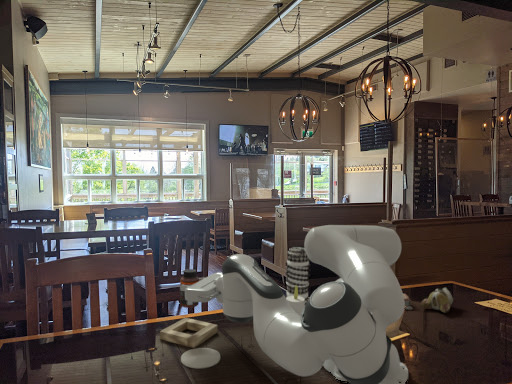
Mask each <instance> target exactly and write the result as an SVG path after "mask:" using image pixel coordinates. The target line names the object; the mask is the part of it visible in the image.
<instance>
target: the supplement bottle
mask: <svg viewBox="0 0 512 384" xmlns="http://www.w3.org/2000/svg"><path fill="white" fill-rule="evenodd" d="M199 278H200V277H198V275H197V269H194V268H186V269H184V270H183V276H181V278H180V281H179V283H180V285H182V284H187V285H188V286H190V285H193V284H195V283H197V282H199ZM180 285H179V286H180ZM199 304H200V302H192V301H187V300H186V299H185V291H181V290H180V289H179V305H180V307H182V308H186V309H189V308H195V307H197V306H198V305H199Z"/></svg>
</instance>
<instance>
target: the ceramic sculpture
mask: <svg viewBox="0 0 512 384" xmlns="http://www.w3.org/2000/svg"><path fill="white" fill-rule="evenodd" d="M453 302H454V298H453V295H452V294H451V291H449V289H448V288H447V287H443V288H440V287H438V288H436V289H435V290H434V291H432V292H431V293H429V296H428V297H427V298H424V299H422V300H421V302H420V303H419V307H421V308H423V309H428V308H430V307H431V308H432V310H435V311H440V312H443V313H448V312H449V311H450V310H451V306H452V304H453Z"/></svg>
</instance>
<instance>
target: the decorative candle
mask: <svg viewBox="0 0 512 384" xmlns="http://www.w3.org/2000/svg"><path fill="white" fill-rule="evenodd" d="M287 258H288V259H287V260H286V261H287V262H284V263H285V266H286V268H285V276H286V277H285V283H286V285H287V290H286V295H285V298H286V297H288V296H294V292H295V286H296V285H297V288H298V296H300V297H303V298H304V299H305V305H306V303H307V301H308V299H309V297H310V296H309V285H310V283H309V281H310V280H311V279H310V278H309V277H310V276H311V274H310V273H309V272H310V271H311V269H310V267H311V264H310V260H309V258H308V256H307V254H306V252H305V247H301V246H296V247H295V246H293V247H291V248H289V249H288V251H287ZM305 305H304V308H305Z"/></svg>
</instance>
